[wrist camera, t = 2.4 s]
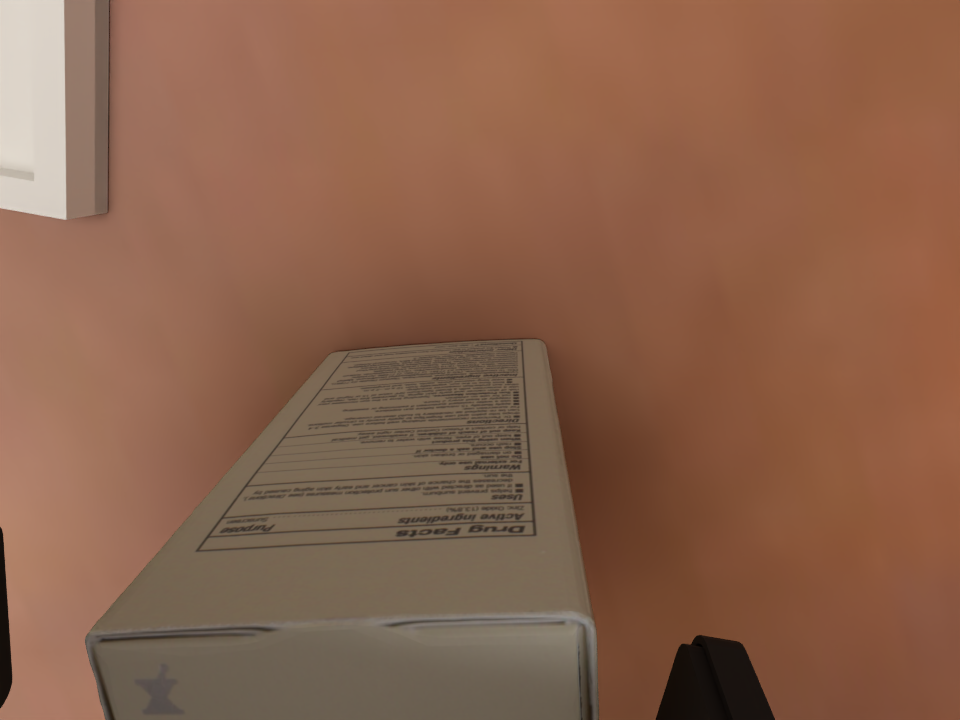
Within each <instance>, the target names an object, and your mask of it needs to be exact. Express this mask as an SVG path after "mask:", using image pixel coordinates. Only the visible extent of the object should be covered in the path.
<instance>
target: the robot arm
mask: <svg viewBox="0 0 960 720" xmlns="http://www.w3.org/2000/svg"><path fill="white" fill-rule="evenodd" d="M11 685H12V665H11V650H10V634H9V619H8V604H7V588H6V573H5V558H4V542H3V532H2V529H1V527H0V708H1V707H2V705H3V704H4V702H5V700H6V698H7V696H8V694H9V692H10V689H11ZM656 720H775V718H774V716H773V713H772V711H771V709H770V706H769V704H768V702H767V699H766V697H765V694H764V692H763V690H762V687H761V685H760V683H759V680H758V678H757V676H756V673H755V671H754V668H753V666H752V664H751V661H750V659H749V657H748V654H747V652H746V650H745V648H744V646H743V645H742V644H741V643H740V642H737V641H731V640H725V639H720V638H714V637H708V636H702V635H698V636H696V637H695V639H694V640H693V642H692V644H691V645H689V644H681V645H680V647H679V649H678V651H677V654H676V657H675V660H674V663H673V667H672V670H671V673H670V676H669V679H668V682H667V686H666V689H665V692H664V695H663V698H662V701H661V704H660V708H659V711H658V714H657V717H656Z"/></svg>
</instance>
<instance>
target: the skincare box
mask: <svg viewBox="0 0 960 720" xmlns="http://www.w3.org/2000/svg"><path fill="white" fill-rule="evenodd" d="M85 644H86V649H87V653H88V657H89V661H90V664H91V667H92V670H93V673H94V676H95V679H96V682H97V688H98V693H99V698H100V703H101V706H102V708H103V712H104V715H105V719H106V720H599V700H598V666H597V633H596V625H595V620H594V615H593V610H592V605H591V599H590V594H589V588H588V583H587V577H586V572H585V566H584V561H583V555H582V550H581V544H580V538H579V532H578V527H577V521H576V515H575V509H574V503H573V498H572V492H571V487H570V481H569V476H568V470H567V464H566V459H565V453H564V446H563V440H562V434H561V428H560V423H559V418H558V412H557V407H556V401H555V395H554V389H553V380H552V375H551V371H550V366H549V360H548V355H547V348H546V345H545V344H544V342H543V341H541V340H539V339H520V340H488V341H467V342H449V343H435V344H420V345H406V346H394V347H382V348H371V349H361V350H352V351H341V352H334V353H331V354H329V355H328V356H327V358H326V359H325V360H324V361H323V362H322V363H321V364H320V366H319V367H318V368H317V369H316V370H315V371H314V372H313V374H312V375H311V376H310V377H309V378H308V380H307V381H306V382H305V383H304V384H303V385H302V386H301V388H300V389H299V390H298V391H297V392H296V393H295V395H294V396H293V397H292V398H291V399H290V400H289V401H288V403H287V404H286V405H285V406H284V407H283V408H282V410H281V411H280V412H279V413H278V414H277V415H276V416H275V418H274V419H273V420H272V421H271V422H270V423H269V425H268V426H267V427H266V428H265V429H264V430H263V432H262V433H261V434H260V435H259V436H258V438H257V439H256V440H255V441H254V442H253V443H252V444H251V446H250V447H249V448H248V449H247V450H246V451H245V453H244V454H243V455H242V456H241V457H240V458H239V459H238V460H237V462H236V463H235V464H234V465H233V466H232V467H231V468H230V470H229V471H228V472H227V473H226V474H225V475H224V476H223V477H222V479H221V480H220V481H219V482H218V484H217V485H216V486H215V487H214V488H213V489H212V490H211V492H210V493H209V494H208V495H207V496H206V497H205V498H204V500H203V501H202V502H201V503H200V504H199V505H198V506H197V507H196V508H195V510H194V511H193V512H192V514H191V515H190V516H189V517H188V518H187V519H186V521H185V522H184V523H183V524H182V525H181V526H180V527H179V528H178V530H177V531H176V532H175V533H174V534H173V535H172V537H171V538H170V539H169V540H168V541H167V542H166V544H165V545H164V546H163V547H162V548H161V549H160V551H159V552H158V553H157V554H156V555H155V557H154V558H153V559H152V560H151V561H150V562H149V563H148V564H147V565H146V567H145V568H144V569H143V570H142V571H141V572H140V574H139V575H138V576H137V577H136V578H135V579H134V581H133V582H132V583H131V584H130V585H129V586H128V587H127V588H126V590H125V591H124V592H123V593H122V594H121V595H120V596H119V597H118V599H117V600H116V601H115V602H114V603H113V604H112V605H111V607H110V608H109V609H108V610H107V611H106V613H105V614H104V615H103V616H102V617H101V618H100V619H99V620H98V621H97V623H96V624H95V625H94V626H93V628H92V629H91V630H90V632H89V633H88V634H87V636H86V638H85Z"/></svg>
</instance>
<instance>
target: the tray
mask: <svg viewBox="0 0 960 720" xmlns="http://www.w3.org/2000/svg"><path fill="white" fill-rule="evenodd" d="M108 90H109V0H0V208H3V209H9V210H14V211H20V212H25V213H31V214H36V215H42V216H48V217H53V218H59V219H64V220H68V219H74V218H80V217H86V216H92V215H98V214H103V213H108Z"/></svg>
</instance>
